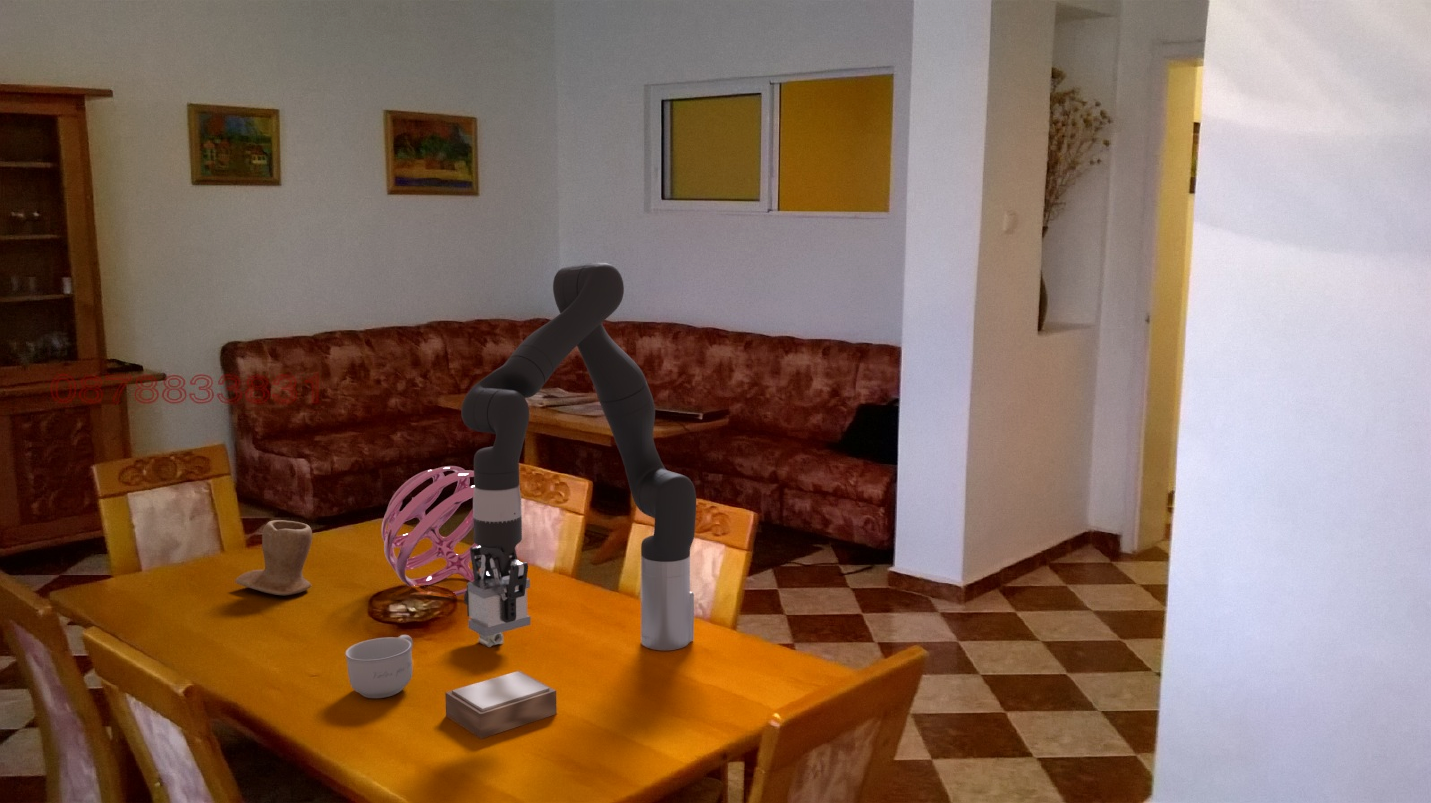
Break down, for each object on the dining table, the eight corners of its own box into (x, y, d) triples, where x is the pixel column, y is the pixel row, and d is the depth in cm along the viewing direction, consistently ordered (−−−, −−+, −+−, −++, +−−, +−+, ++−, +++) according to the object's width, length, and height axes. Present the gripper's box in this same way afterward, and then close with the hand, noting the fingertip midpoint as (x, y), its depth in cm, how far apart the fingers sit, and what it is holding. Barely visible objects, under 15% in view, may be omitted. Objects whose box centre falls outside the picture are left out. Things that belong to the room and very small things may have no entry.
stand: (519, 693, 199) (519, 668, 199) (556, 713, 191) (556, 688, 191) (445, 715, 190) (445, 689, 189) (481, 738, 182) (480, 711, 181)
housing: (513, 616, 193) (513, 571, 192) (530, 624, 189) (529, 579, 188) (468, 628, 187) (467, 582, 186) (484, 636, 184) (483, 590, 183)
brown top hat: (326, 588, 253) (323, 521, 251) (279, 603, 244) (275, 533, 241) (281, 576, 262) (278, 511, 259) (234, 590, 252) (230, 522, 249)
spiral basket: (553, 505, 248) (472, 423, 257) (447, 563, 229) (363, 472, 238) (526, 584, 266) (451, 505, 275) (425, 644, 247) (349, 557, 256)
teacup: (378, 709, 192) (376, 663, 191) (333, 695, 198) (331, 649, 197) (439, 681, 204) (438, 637, 203) (395, 668, 210) (394, 625, 208)
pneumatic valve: (496, 654, 216) (495, 592, 215) (464, 637, 225) (462, 577, 223) (522, 647, 220) (521, 586, 218) (489, 631, 229) (487, 571, 227)
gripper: (542, 518, 183) (544, 623, 185) (494, 501, 193) (496, 600, 196) (501, 526, 178) (503, 634, 180) (453, 508, 188) (456, 610, 191)
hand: (499, 616), depth 188 cm, fingers closed on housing, 5 cm apart
